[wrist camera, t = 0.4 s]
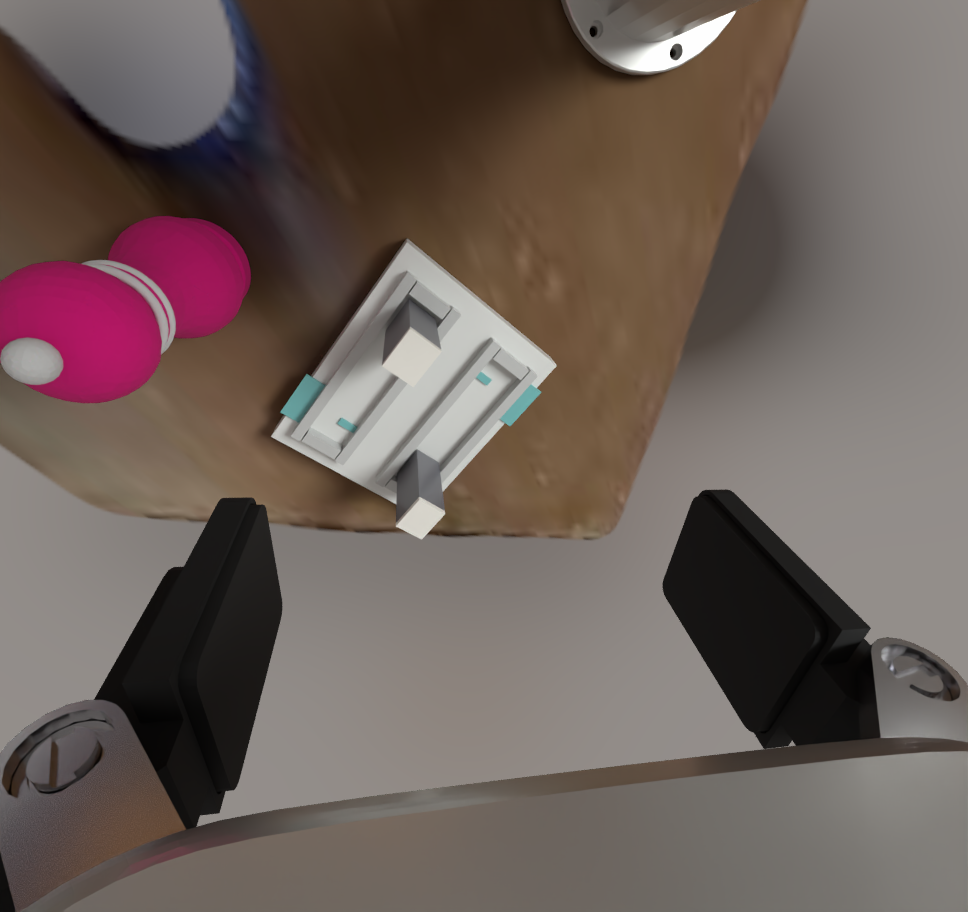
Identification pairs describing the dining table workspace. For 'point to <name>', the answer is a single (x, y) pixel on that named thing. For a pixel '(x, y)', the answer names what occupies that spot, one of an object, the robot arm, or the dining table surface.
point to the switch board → (432, 401)
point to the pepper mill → (119, 308)
